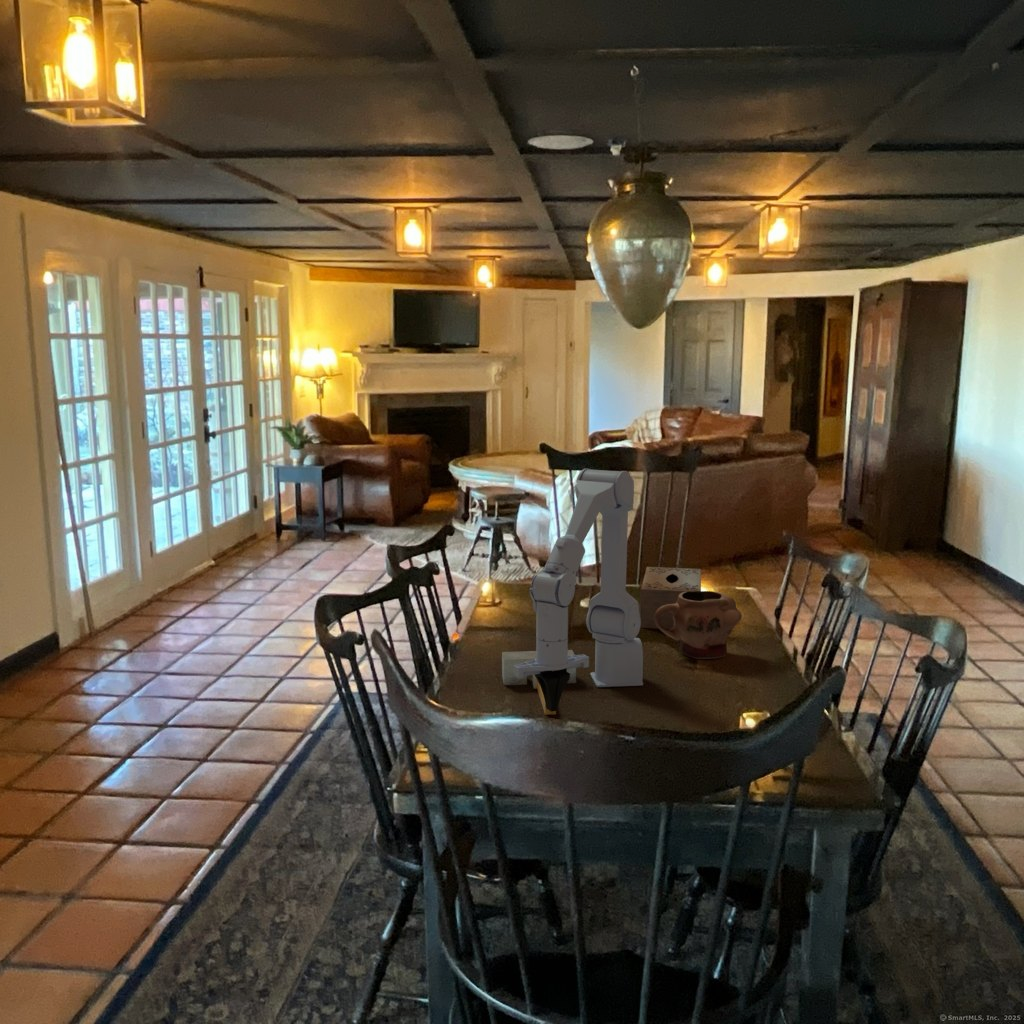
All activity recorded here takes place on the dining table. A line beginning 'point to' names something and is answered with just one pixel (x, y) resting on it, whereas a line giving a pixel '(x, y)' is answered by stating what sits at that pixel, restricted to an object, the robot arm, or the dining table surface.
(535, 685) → the wooden stick
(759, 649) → the dining table surface
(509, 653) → the block
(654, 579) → the tissue box cover
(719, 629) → the ceramic mug
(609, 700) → the dining table surface
